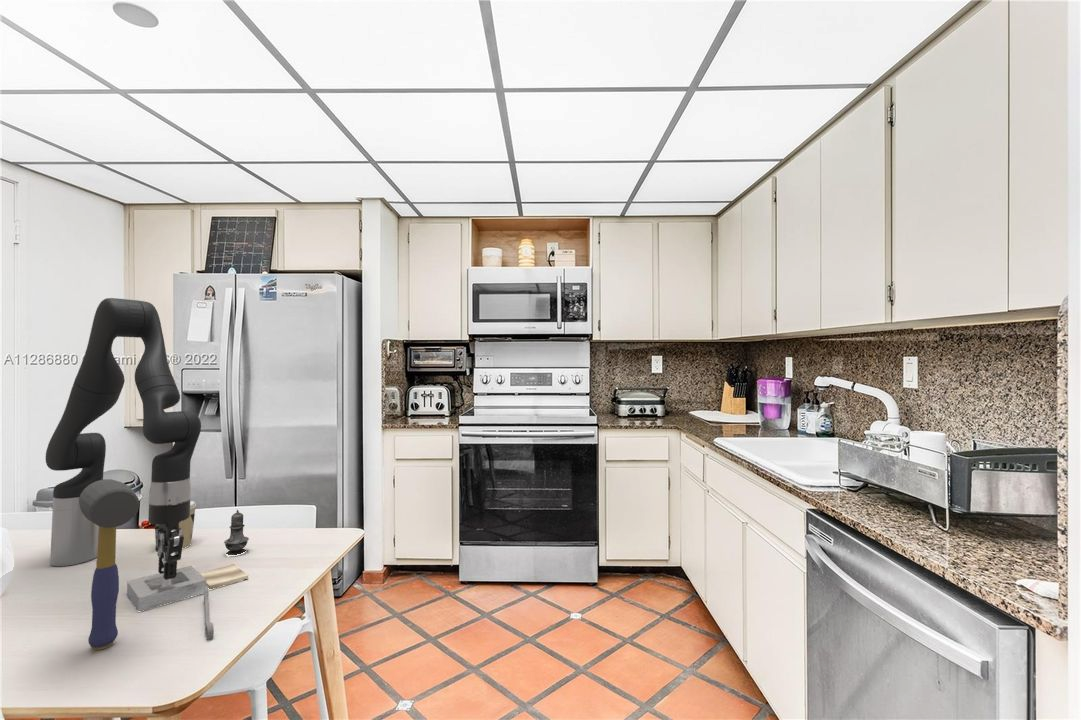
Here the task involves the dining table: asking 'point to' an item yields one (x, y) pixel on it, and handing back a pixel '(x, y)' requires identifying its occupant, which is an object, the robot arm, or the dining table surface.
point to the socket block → (165, 588)
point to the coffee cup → (188, 526)
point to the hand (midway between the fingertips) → (167, 574)
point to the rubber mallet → (106, 552)
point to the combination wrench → (207, 616)
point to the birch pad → (223, 576)
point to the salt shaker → (236, 535)
